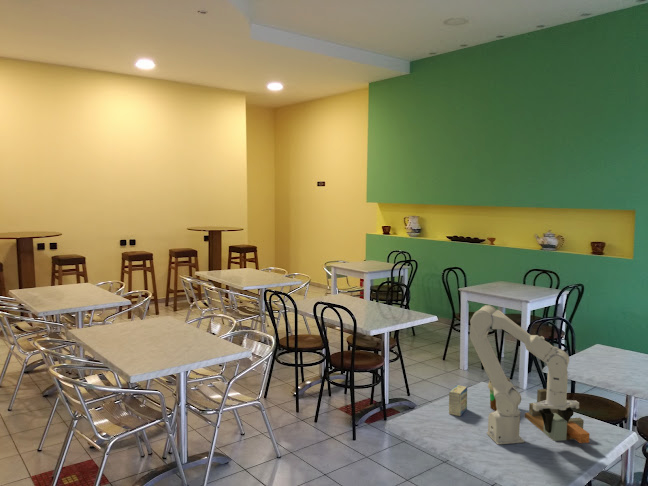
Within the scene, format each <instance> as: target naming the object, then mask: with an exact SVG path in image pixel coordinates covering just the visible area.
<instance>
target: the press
mask: <svg viewBox="0 0 648 486" xmlns="http://www.w3.org/2000/svg"><path fill="white" fill-rule="evenodd" d="M546 396H547V388H541V389H540V388H539V389H537V395H536V397H537V398H536V403H537V402H541V401H544V400H546ZM533 403H534V402H530V403H529V405H528V407H529V408H528V412H524V417H525V419H527V420H528V421H529V422H530V423H532V424H533V425H534V426H535V427H536V428H538V429H539V430H540V431H541V432H543V430H544V421H543V418H542V416H541V414H540V412H539V411H535V410H534V409H533ZM550 411H551V413H556V414H558V409H550ZM545 435H546V436H547V437H549V436H548V435H547V434H545ZM551 440H552V441H554V440H553V439H551ZM568 440H569V441H570V440H575V439H574V438H573V437H571V436H570V435H569V434H567V435H566V440H565V441H568Z"/></svg>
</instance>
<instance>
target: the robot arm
mask: <svg viewBox="0 0 648 486" xmlns="http://www.w3.org/2000/svg"><path fill="white" fill-rule="evenodd" d="M469 324H470V327H469V329H470V330H469V340H470V342H471V345H472V346H473V348H474V349H475V352H476V354H477V356H478V358H479V360H480V362H481V364H482V366H483V369H484V371H485V373H486V376H487V377H488V379H489V381H491V383H492V386H493V390H494V397H495V399H496V408H497V410H496V411H493V412H490V413H488V419H487V420H488V421H487V432H486V434H487V435H488V437H490V439H492V440H493V441H494V443H496V445H507V444H508V445H509V444H520V443H525V442H526V441H525V440H524V439H523V438H522V437H521V436H520V431H521V430H520V428H521V427H520V426H521V425H520V422H521V410H520V408H519V405H520V404H521V402H522V395H521V393H520V392H519V390H517V389H516V388H515V387H514V385H513V383H512V382H511V381H510V382H509V381H508V380H507V378H508V377H507V375H506V374H505V371H504V370H503V368H502V365H501V363H500V361H499V359H498V358H497V355H496V353H495V351H494V348H493V347H492V345H491V343H490V341H489V339H488V337H487V336H488V334H489V333H490V332H489V331H490V330H491V329H492V330H503V331H505V332H506V333H508V334H509V335H510V336H513V337H514V338H515V339H517V340H518V341H520V342H521V343H523V344H524V346H525V350H526V351H528V352H529V353H531V354H532V355H533V356H535V357H536V358H537V359H539V360H540V361H542V362H543V363H545V364H546V367H547V368H548V371H547V380H546V381H547V382H546V390H547V396H546V400H544V401H541V402H537V401H536V402H532V403H533V409H534V410H535V411H539V412H540V414H541V416H542V418H543V421H544V426H545V430H546V431H547V432H548V433H551V429H552V420H553V417H554V414H553V413H551V411H550V409H558V415H559V416H560V417H562V418H563V419H565V420H566V421H567V423H568V421H569V419H570V418H573V417H572V416H574V410H572V409H580V402H579V401H577V400H575V399H573V400H572V399H567V394H568V378H569V377H568V373H569V372H568V368H569V363H570V356H569V354H568V353H567V352H565V350H564V349H561V348H559V347H557V346H553V345H552V344H551V343H549V342H548V341H546V340H545V337H544V336H543V335H541V336H539V335H538V334H530V333H528V332H527V330H525V329H523V327H521V326H520V325H519V324H517V323H516V322H515V321H513V320H512V319H511V318H510V317H508V316H507V315H506V314H504V313H503V311H501V310H499V309H497V308H495V306H492V305H489V304H485V305H483V306H482V307H481V308H480V309H478V310H476V311H474V313H473V314H472V316H471V318H470V320H469Z"/></svg>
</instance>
